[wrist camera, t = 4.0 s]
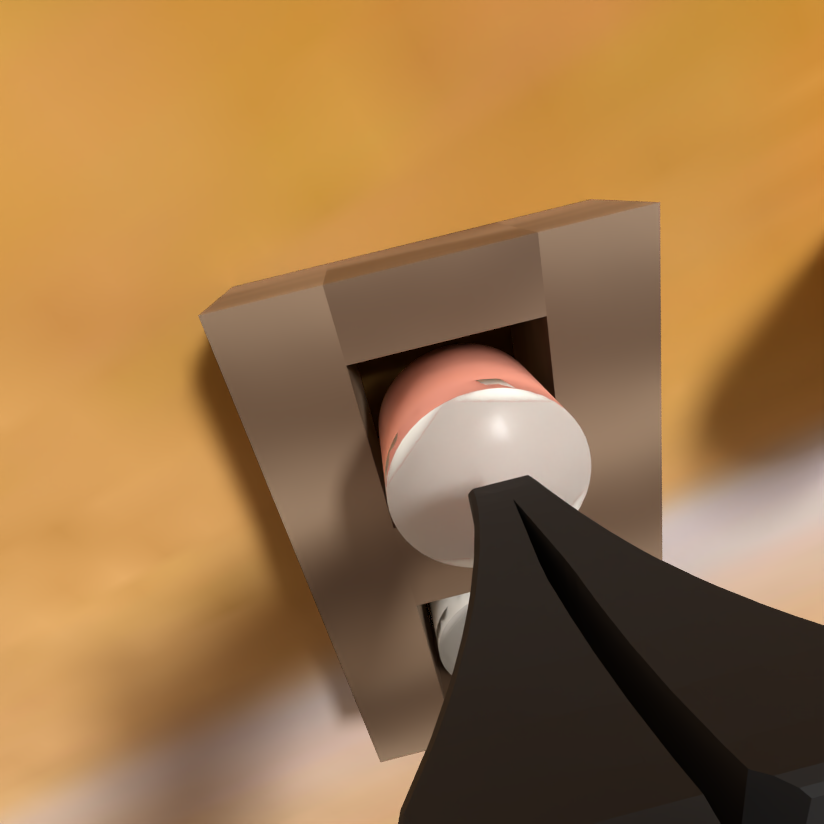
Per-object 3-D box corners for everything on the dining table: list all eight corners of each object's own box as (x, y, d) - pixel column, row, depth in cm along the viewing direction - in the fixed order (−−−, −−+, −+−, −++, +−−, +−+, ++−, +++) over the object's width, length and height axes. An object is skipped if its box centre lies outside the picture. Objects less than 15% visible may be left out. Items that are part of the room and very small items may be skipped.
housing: (616, 614, 24) (663, 689, 21) (376, 676, 24) (380, 762, 21) (591, 199, 16) (659, 202, 13) (232, 286, 16) (198, 315, 13)
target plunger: (548, 472, 16) (597, 540, 13) (399, 509, 16) (411, 587, 13) (531, 324, 14) (583, 363, 11) (359, 367, 14) (362, 419, 11)
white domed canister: (544, 602, 23) (575, 669, 20) (438, 629, 23) (452, 700, 20) (532, 514, 21) (565, 573, 18) (414, 544, 21) (426, 609, 17)
